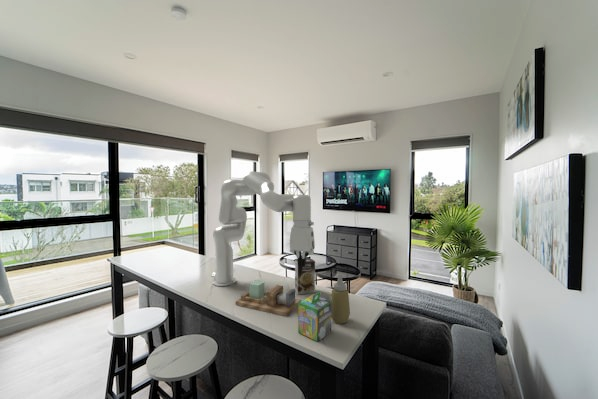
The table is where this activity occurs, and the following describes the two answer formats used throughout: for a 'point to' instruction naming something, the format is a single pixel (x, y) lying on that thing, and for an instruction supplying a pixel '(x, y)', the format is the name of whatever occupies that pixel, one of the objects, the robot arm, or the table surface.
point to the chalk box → (314, 317)
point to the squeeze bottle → (340, 302)
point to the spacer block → (256, 289)
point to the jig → (268, 302)
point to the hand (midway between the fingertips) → (301, 266)
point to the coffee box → (305, 277)
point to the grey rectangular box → (286, 298)
